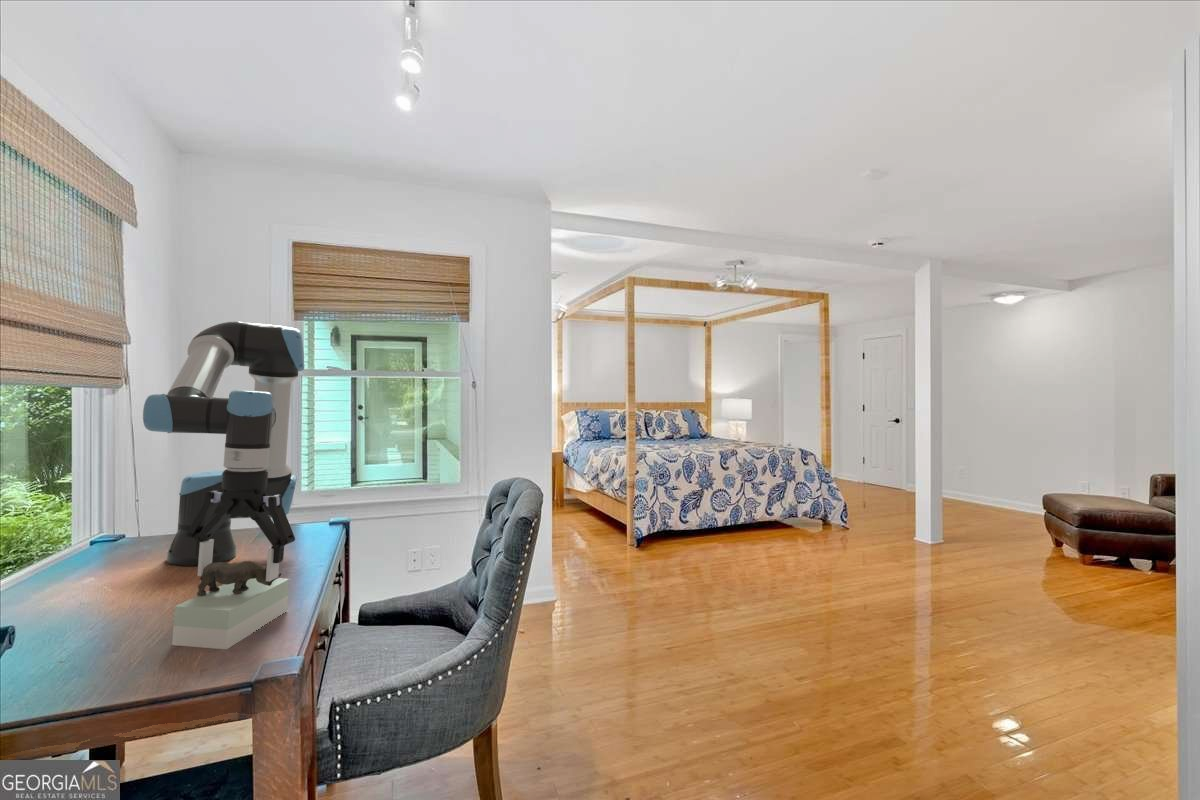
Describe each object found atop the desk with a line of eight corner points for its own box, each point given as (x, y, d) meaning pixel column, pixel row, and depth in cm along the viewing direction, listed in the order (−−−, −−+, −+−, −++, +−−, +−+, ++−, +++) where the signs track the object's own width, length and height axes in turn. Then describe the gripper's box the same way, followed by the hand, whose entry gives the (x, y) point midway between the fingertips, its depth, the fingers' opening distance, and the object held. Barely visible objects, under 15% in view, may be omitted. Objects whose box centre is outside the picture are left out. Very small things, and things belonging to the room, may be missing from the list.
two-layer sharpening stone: (241, 608, 115) (243, 575, 115) (287, 611, 115) (289, 578, 115) (172, 645, 97) (175, 606, 97) (226, 649, 97) (229, 610, 97)
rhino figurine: (277, 592, 107) (280, 562, 107) (194, 597, 102) (196, 565, 102) (281, 586, 111) (283, 556, 111) (201, 590, 106) (203, 559, 106)
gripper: (168, 466, 103) (160, 577, 103) (296, 475, 102) (288, 587, 102) (199, 462, 111) (191, 566, 111) (318, 471, 110) (311, 575, 110)
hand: (238, 576), depth 106 cm, fingers open, 13 cm apart
